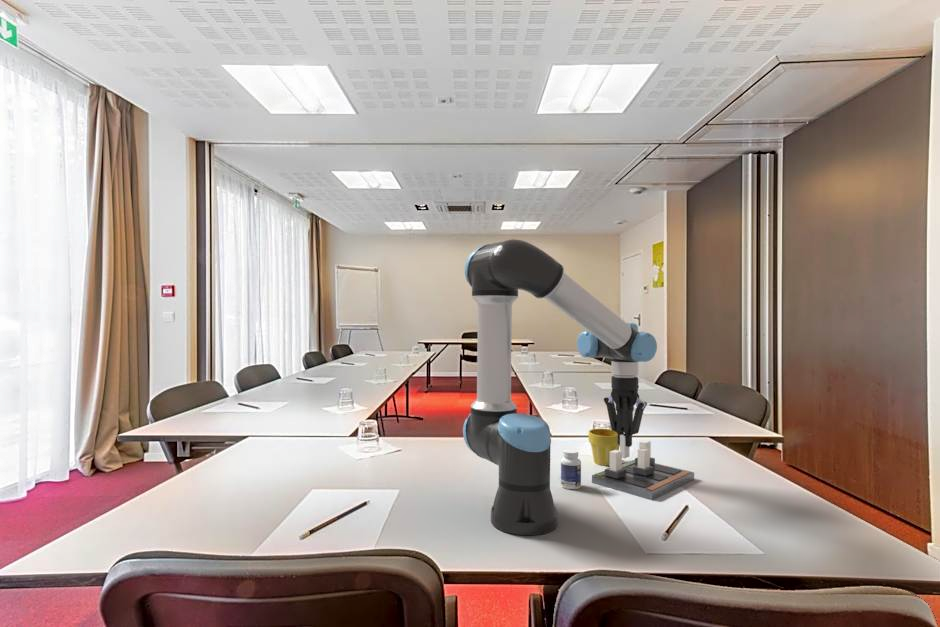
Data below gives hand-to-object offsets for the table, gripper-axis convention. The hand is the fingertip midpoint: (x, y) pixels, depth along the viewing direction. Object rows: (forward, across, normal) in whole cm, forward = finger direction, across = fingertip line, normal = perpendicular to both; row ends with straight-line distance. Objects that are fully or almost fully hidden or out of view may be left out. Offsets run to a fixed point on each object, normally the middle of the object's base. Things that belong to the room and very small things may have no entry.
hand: (624, 456), depth 148 cm
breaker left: (+3, -2, +8) cm, 9 cm away
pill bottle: (+6, +5, +19) cm, 21 cm away
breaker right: (+3, -2, -8) cm, 9 cm away
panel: (+6, -6, 0) cm, 8 cm away
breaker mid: (+3, -6, 0) cm, 7 cm away
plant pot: (+6, +11, -7) cm, 14 cm away
